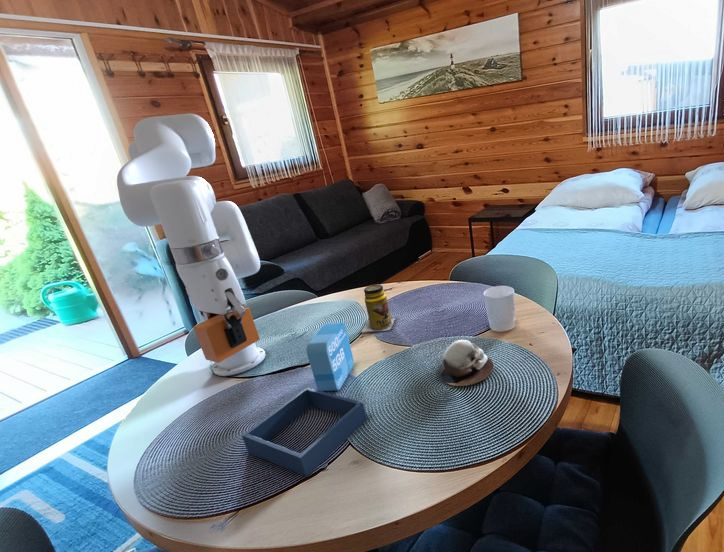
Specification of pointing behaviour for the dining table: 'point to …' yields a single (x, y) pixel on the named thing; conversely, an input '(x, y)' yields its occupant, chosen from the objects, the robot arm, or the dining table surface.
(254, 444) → the bin
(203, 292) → the robot arm
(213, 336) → the block
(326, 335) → the data package
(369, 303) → the condiment
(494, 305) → the white cup
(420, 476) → the dining table surface
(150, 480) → the dining table surface
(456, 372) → the skull
